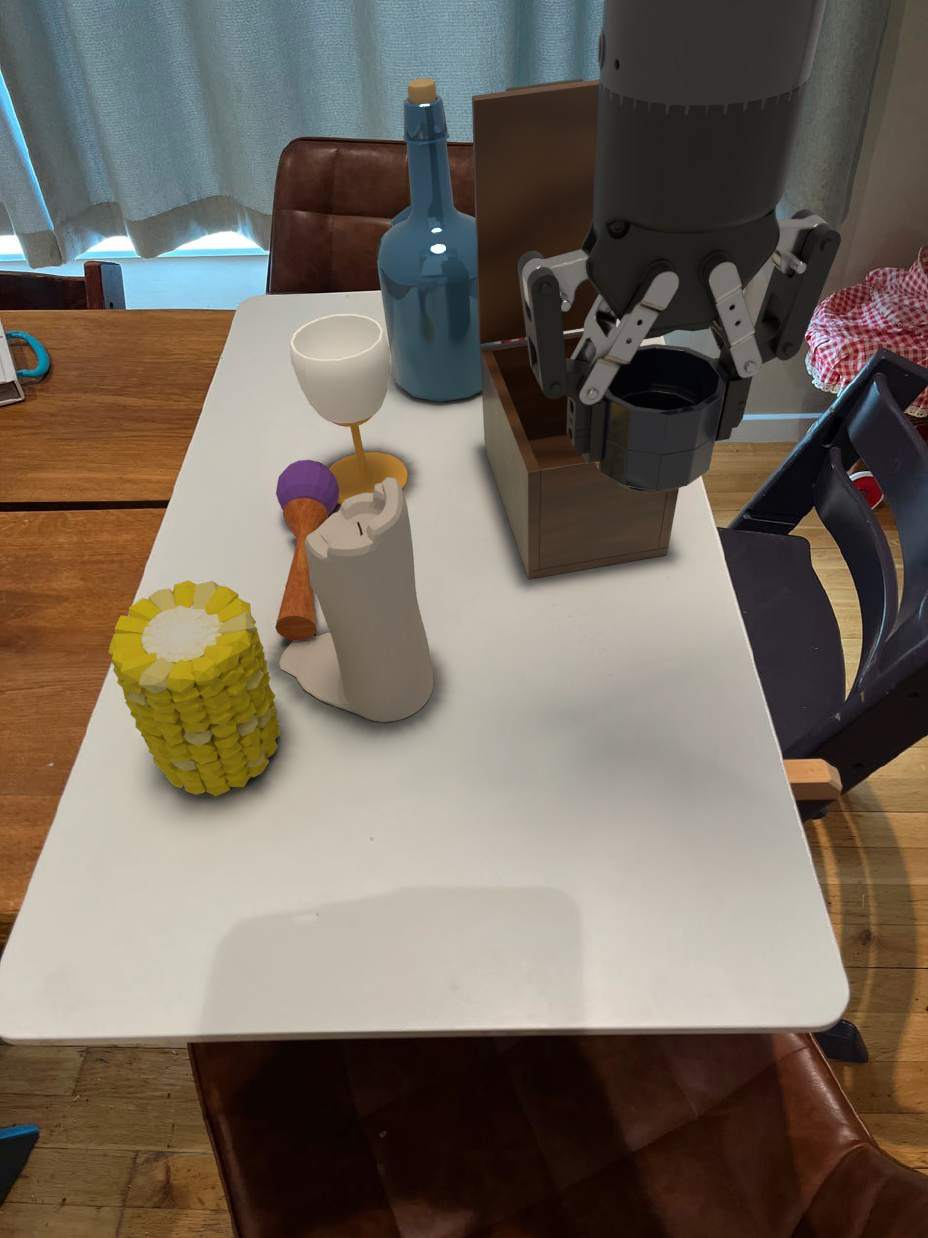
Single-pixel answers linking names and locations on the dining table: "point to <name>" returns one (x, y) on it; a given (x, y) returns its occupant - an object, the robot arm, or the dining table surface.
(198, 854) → the dining table surface
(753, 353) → the robot arm
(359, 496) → the candle
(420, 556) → the dining table surface
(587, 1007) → the dining table surface
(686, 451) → the bowl
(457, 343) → the wine bottle
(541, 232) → the lid
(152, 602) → the food
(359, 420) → the cup
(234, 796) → the dining table surface
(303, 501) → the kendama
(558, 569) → the chest
